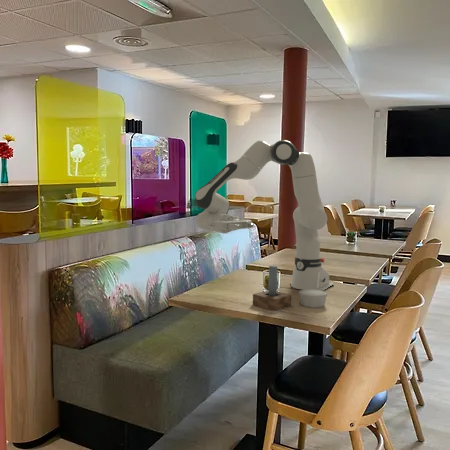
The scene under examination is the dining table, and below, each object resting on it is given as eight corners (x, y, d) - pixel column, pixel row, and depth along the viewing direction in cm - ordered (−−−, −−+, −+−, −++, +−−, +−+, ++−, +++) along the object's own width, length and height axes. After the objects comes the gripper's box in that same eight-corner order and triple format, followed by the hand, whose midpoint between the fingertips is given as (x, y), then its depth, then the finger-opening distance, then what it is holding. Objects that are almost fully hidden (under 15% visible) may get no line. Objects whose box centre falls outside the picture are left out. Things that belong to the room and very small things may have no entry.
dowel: (271, 304, 189) (272, 265, 187) (277, 305, 186) (278, 266, 185) (266, 305, 186) (267, 266, 185) (272, 307, 184) (273, 267, 183)
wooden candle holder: (270, 300, 194) (270, 289, 194) (291, 305, 186) (291, 295, 186) (252, 305, 186) (252, 294, 186) (273, 310, 179) (274, 299, 178)
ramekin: (296, 301, 194) (296, 289, 194) (322, 301, 195) (322, 289, 195) (302, 308, 183) (302, 295, 183) (330, 308, 184) (330, 295, 183)
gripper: (206, 217, 205) (229, 220, 195) (238, 216, 219) (260, 218, 209) (206, 231, 205) (228, 234, 196) (238, 229, 220) (260, 232, 210)
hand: (245, 226), depth 203 cm, fingers open, 8 cm apart
